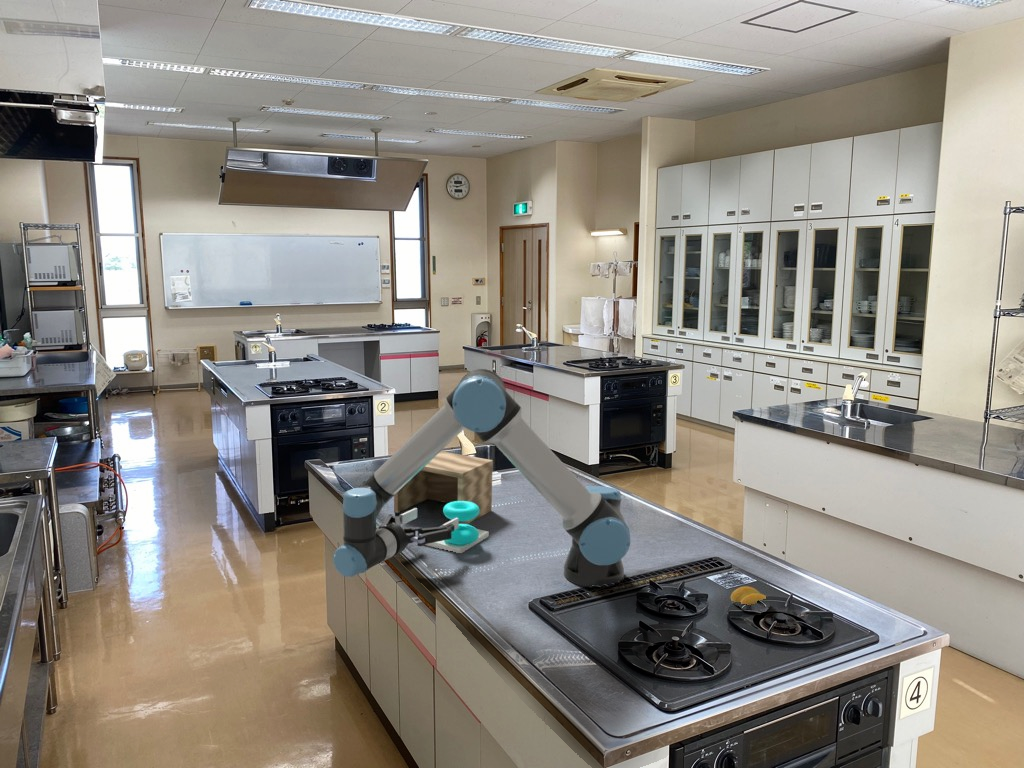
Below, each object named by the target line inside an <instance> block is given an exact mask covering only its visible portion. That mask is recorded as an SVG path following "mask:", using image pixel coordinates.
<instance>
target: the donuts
mask: <svg viewBox="0 0 1024 768" xmlns="http://www.w3.org/2000/svg"><path fill="white" fill-rule="evenodd" d="M442 509H443V510H442V512H443V515H444V516H445V517H446V519H449V520H450V521H451V520H453V519H455V518H459V521H469V520H472V519H474V518H475V517H477V516H478V514H479V507H478V506H477V505H476V504H475V503H472V502H469V501H454V502H450V503H446V504H445V505H444V506H443V508H442ZM477 529H478V528H476V527H475V526H472V525H470V524H469V523H468V524H459V525H458V528H457V529H455V530H454V531H453V532H452V536H451V539H448V540H445V541H447V542H448V543H451V544H455V545H467V544H471V543H473V542H475V541H476V540H477V539H478V537H479V532H478V530H477Z"/></svg>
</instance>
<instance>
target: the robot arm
mask: <svg viewBox="0 0 1024 768" xmlns="http://www.w3.org/2000/svg"><path fill="white" fill-rule="evenodd" d="M444 401H445V402H444V405H443V406H442V407H441V408H440V409H439V410H438V411H437V412H436V413H434V414H433V416H432V417H431V418H429V419H428V420H427V422H425V423H423V425H422V426H421V427H420V428H419V429H417V431H416V432H415V433H414V434H413V435H412V436H411V437H410V438H409V439H408V440H406V442H405V443H404V444H403V445H401V447H399V449H398V450H396V451H395V452H394V453H393V454H392V455H391V456H390V457H389V458H388V459H387V460H386V461H385V462H384V463H383V464H382V465H381V466H380V467H379V468H378V469H377V470H375V471H374V473H373V474H372V475H370V477H369V478H367V479H365V480H363V482H361V484H360V485H359V486H358V487H355V488H351V489H349V490H346V491H345V492H344V494H343V498H342V499H343V501H342V503H343V504H342V512H343V513H342V515H343V517H342V518H343V524H342V525H343V538H342V540H343V541H342V542H343V543H342V545H340V547H338V548H336V550H335V552H334V554H333V559H332V561H333V565H334V567H335V569H336V571H337V572H338V574H340V575H341V576H343V577H345V578H353V577H355V576H357V575H361V574H363V573H365V572H366V571H368V570H370V569H371V568H373V567H375V566H377V565H380V564H381V563H382V562H384V561H386V560H388V559H390V558H392V557H395V556H397V555H399V554H400V553H402V552H404V550H406V548H407V546H408V544H413V543H417V545H416V546H417V547H423V546H426V545H425V544H429V543H434V542H438V541H443V540H448V539H451V536H452V532H453V531H454V530H455V529H457V528H458V525H459V518H455V519H453V520H451V519H450V520H449V521H447V522H445V523H443V524H442V525H441V526H442V527H440V526H434V527H423V528H421V527H420V526H416V527H410V526H405V524H407V523H410V522H411V521H414V520H416V519H418V508H417V507H413V508H412V509H410V510H407V511H405V512H404V513H401V514H400V512H394V515H393V514H392V513H389V514H387V515H386V517H385V519H384V520H383V522H382V523H381V524H380V525H378V526H377V518H378V516H379V514H380V512H381V511H382V509H383V507H384V506H385V505H387V503H389V501H390V500H391V499H393V498H394V495H395V494H396V493H397V492H398V491H399V490H400V489H401V488H402V487H403V486H404V485H406V484H407V483H408V482H409V481H410V480H411V479H412V478H413V477H414V476H415V475H416V474H417V473H418V472H419V471H420V470H421V469H422V468H424V467H425V466H426V465H427V464H428V463H429V462H430V461H431V460H432V459H433V458H434V457H435V456H436V455H437V454H438V453H439V452H440V451H443V450H444V449H445V448H446V447H447V446H448V445H449V444H451V442H452V441H454V439H456V437H457V436H459V435H460V434H461V433H462V432H463V431H464V430H465V429H467V430H468V431H471V432H474V434H475V435H476V436H477V437H478V439H480V440H481V441H482V442H483V443H484V444H493V445H495V447H496V448H498V450H499V451H500V452H501V453H502V454H503V456H505V457H506V458H507V459H508V461H509V462H511V464H512V465H513V466H514V467H515V468H516V470H517V471H519V472H520V473H521V475H522V476H523V477H524V478H526V480H527V481H528V483H530V484H531V485H532V486H533V488H534V489H536V491H537V492H538V493H539V494H540V496H542V497H543V498H544V499H545V500H546V502H548V504H549V505H550V506H551V507H552V508H553V510H555V511H556V512H557V513H558V515H560V516H561V518H562V528H563V529H564V531H566V533H568V535H569V536H570V537H571V538H572V541H571V546H570V549H569V551H568V553H567V554H568V555H567V556H566V559H565V562H564V565H563V576H564V577H565V578H566V579H567V580H568V581H569V582H570V583H573V584H576V585H578V586H581V587H585V586H592V585H601V584H609V583H613V582H618V581H620V580H622V579H623V580H624V575H625V570H624V564H623V561H622V559H624V558H625V556H626V555H627V553H628V552H629V549H630V546H631V533H630V529H629V527H628V525H627V524H626V521H625V518H624V516H623V514H622V511H621V505H622V503H621V502H622V500H623V499H622V493H621V491H620V490H618V489H616V488H614V487H609V486H602V485H600V486H599V485H584V484H583V483H582V482H581V481H580V480H579V479H578V478H577V476H576V475H574V473H573V472H571V470H570V469H569V468H568V467H567V466H566V464H564V463H563V461H561V459H560V458H559V457H558V455H556V454H555V453H554V451H552V450H551V448H550V447H549V446H548V445H547V444H546V443H545V442H544V441H543V440H542V438H541V437H540V436H539V435H538V434H537V433H536V432H535V431H534V430H533V428H532V427H531V426H529V425H528V423H527V422H526V421H525V420H524V419H523V418H522V407H521V406H520V405H519V403H518V402H517V401H516V400H515V399H514V398H513V396H511V395H510V394H509V392H507V388H506V385H505V383H504V380H503V379H502V378H501V377H500V376H499V375H498V374H497V373H496V372H495V371H492V370H490V369H485V368H477V369H473V370H471V371H469V372H468V373H466V374H465V375H464V376H463V377H462V378H461V380H460V381H459V382H458V384H457V386H456V387H455V388H454V389H453V390H452V391H451V392H450V393H449V394H448V396H446V397H445V400H444ZM403 525H404V526H403ZM416 532H417V535H416ZM623 580H622V581H623Z"/></svg>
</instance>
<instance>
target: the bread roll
mask: <svg viewBox="0 0 1024 768" xmlns="http://www.w3.org/2000/svg"><path fill="white" fill-rule="evenodd" d="M766 596H767V595H765V594H762V593H761V592H760V591H759V590H758V589H756V588H754V587H752V586H749V585H748V586H747V585H746V586H745V585H744V586H740V587H738V588H736V589H735V590H734V591H732V593H731V595H730V600H731V602H732V601H734V602H741V604H747V605H751V604H755V603H757V601H758V600H763V599H766Z"/></svg>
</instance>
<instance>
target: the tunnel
mask: <svg viewBox="0 0 1024 768" xmlns="http://www.w3.org/2000/svg"><path fill="white" fill-rule="evenodd" d="M493 463H494V461H493V459H488V458H481V457H476V456H470V455H466V454H459V453H453V452H448V451H443V450H441V451H440V452H439V453H438V454H437V455H436V456H435V457H434V458H433V459H432V460H431V461H430V462H429V463H428V464H427V465H426V466H425V467H424V468H422V469H421V470H420V471H419V472H418V473H417V474H416V475H415V476H414V477H413V478H412V479H411V480H410V481H409V482H408V483H407V484H406V485H404V486H403V487H402V488H401V489H400V490H399V491H398V492H397V493H396V494H395V495H394V496H393V512H394V513H395V512H399V513H400V512H403V511H405V510H407V509H408V508H411V507H413V506H415V505H418V504H419V503H421V502H424V501H426V500H433V501H438V502H441V503H446V504H448V503H450V502H454V501H469V502H472V503H475V504H476V505H477V506H478V507H479V514H478V516H477V517H475V518H474V519H472V520H469V521H459V524H468V525H469V524H470V523H471V522H473V521H476V520H477V519H479V518H481V517H482V516H484V515H486V514H488V513H490V512H492V510H493V509H492V507H493V506H492V504H493V503H492V502H493Z"/></svg>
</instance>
